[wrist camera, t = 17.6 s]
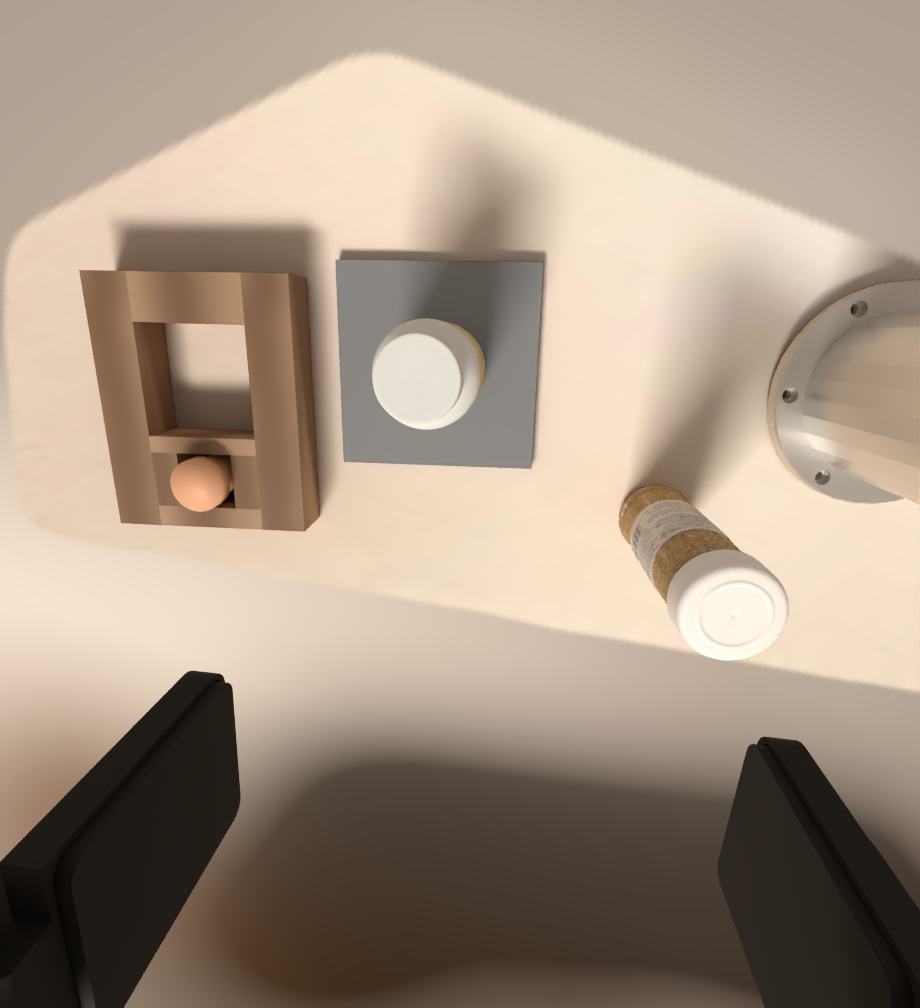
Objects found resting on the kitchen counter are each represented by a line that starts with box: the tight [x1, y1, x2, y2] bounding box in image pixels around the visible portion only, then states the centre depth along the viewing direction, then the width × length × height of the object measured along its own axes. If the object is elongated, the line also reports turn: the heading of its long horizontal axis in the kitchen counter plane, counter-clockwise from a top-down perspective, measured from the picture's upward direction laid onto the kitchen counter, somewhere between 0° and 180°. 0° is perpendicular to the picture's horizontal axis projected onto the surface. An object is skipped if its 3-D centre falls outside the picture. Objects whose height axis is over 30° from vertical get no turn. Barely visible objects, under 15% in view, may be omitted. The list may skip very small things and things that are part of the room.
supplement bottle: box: [372, 318, 485, 430], centre depth 29 cm, size 5×5×10 cm
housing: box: [79, 270, 320, 531], centre depth 34 cm, size 12×15×3 cm
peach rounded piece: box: [170, 455, 234, 512], centre depth 35 cm, size 3×3×4 cm
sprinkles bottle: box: [619, 485, 789, 660], centre depth 29 cm, size 5×5×14 cm
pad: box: [336, 260, 544, 469], centre depth 34 cm, size 12×12×1 cm
